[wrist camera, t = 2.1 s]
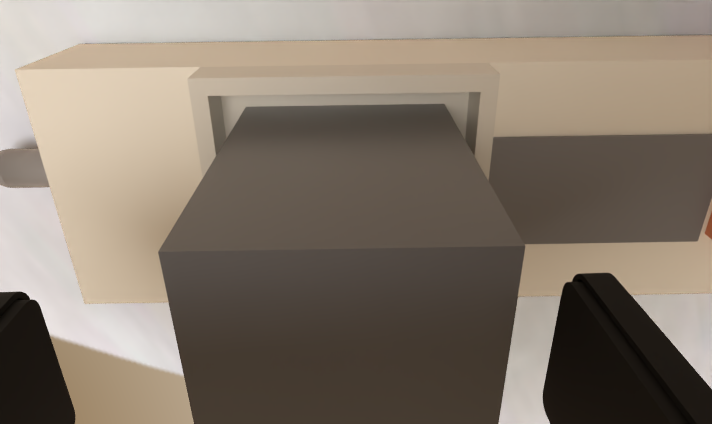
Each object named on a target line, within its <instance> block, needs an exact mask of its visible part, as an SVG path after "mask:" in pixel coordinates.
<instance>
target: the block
mask: <svg viewBox="0 0 712 424" xmlns="http://www.w3.org/2000/svg"><path fill="white" fill-rule="evenodd" d="M524 253H525V244H524V242H523V241H522V239H521V237H520V235H519V234H518V232H517V230H516V228H515V227H514V225H513V223H512V221H511V220H510V218H509V216H508V214H507V213H506V211H505V209H504V207H503V206H502V204H501V202H500V200H499V199H498V197H497V195H496V193H495V192H494V190H493V188H492V186H491V185H490V183H489V181H488V179H487V178H486V176H485V174H484V172H483V171H482V169H481V167H480V165H479V164H478V162H477V160H476V158H475V157H474V155H473V153H472V151H471V150H470V148H469V146H468V144H467V143H466V141H465V139H464V137H463V136H462V134H461V132H460V130H459V129H458V127H457V125H456V123H455V122H454V120H453V118H452V116H451V114H450V113H449V111H448V109H447V107H446V106H445V104H391V105H324V106H256V107H245V109H244V111H243V112H242V114H241V116H240V117H239V119H238V121H237V122H236V124H235V126H234V127H233V129H232V131H231V132H230V134H229V135H228V137H227V139H226V140H225V142H224V144H223V145H222V147H221V149H220V150H219V152H218V154H217V155H216V157H215V159H214V160H213V162H212V164H211V165H210V167H209V169H208V170H207V172H206V173H205V175H204V177H203V178H202V180H201V182H200V183H199V185H198V187H197V188H196V190H195V192H194V193H193V195H192V197H191V198H190V200H189V202H188V203H187V205H186V207H185V208H184V210H183V211H182V213H181V215H180V216H179V218H178V220H177V221H176V223H175V225H174V226H173V228H172V230H171V231H170V233H169V235H168V236H167V238H166V240H165V241H164V243H163V245H162V246H161V248H160V249H159V251H158V254H159V259H160V264H161V268H162V273H163V278H164V283H165V287H166V292H167V297H168V302H169V306H170V311H171V316H172V321H173V325H174V330H175V335H176V340H177V344H178V349H179V354H180V359H181V363H182V368H183V373H184V378H185V382H186V387H187V392H188V397H189V401H190V406H191V411H192V416H193V420H194V424H498V422H499V415H500V409H501V402H502V396H503V389H504V383H505V376H506V370H507V363H508V357H509V350H510V344H511V337H512V331H513V324H514V318H515V311H516V305H517V298H518V292H519V285H520V279H521V272H522V266H523V259H524Z"/></svg>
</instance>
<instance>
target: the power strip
mask: <svg viewBox="0 0 712 424" xmlns="http://www.w3.org/2000/svg"><path fill="white" fill-rule="evenodd" d="M15 72H16V75H17V79H18V82H19V85H20V89H21V92H22V95H23V99H24V102H25V105H26V109H27V112H28V115H29V119H30V122H31V126H32V129H33V132H34V136H35V139H36V142H37V146H38V149H6V150H2V151H0V185H2V186H5V187H10V188H31V187H50V189H51V193H52V196H53V199H54V203H55V206H56V209H57V213H58V216H59V219H60V223H61V226H62V229H63V233H64V236H65V239H66V243H67V246H68V249H69V253H70V256H71V260H72V263H73V266H74V270H75V273H76V276H77V280H78V283H79V286H80V290H81V293H82V296H83V300H84V303H85V304H100V303H160V302H168V297H167V292H166V287H165V283H164V278H163V273H162V268H161V264H160V259H159V254H158V251H159V249H160V248H161V246H162V245H163V243H164V241H165V240H166V238H167V236H168V235H169V233H170V231H171V230H172V228H173V226H174V225H175V223H176V221H177V220H178V218H179V216H180V215H181V213H182V211H183V210H184V208H185V207H186V205H187V203H188V202H189V200H190V198H191V197H192V195H193V193H194V192H195V190H196V188H197V187H198V185H199V183H200V182H201V180H202V178H203V177H204V175H205V173H206V172H207V170H208V169H209V167H210V165H211V164H212V162H213V160H214V159H215V157H216V155H217V154H218V152H219V150H220V149H221V147H222V145H223V144H224V142H225V140H226V139H227V137H228V135H229V134H230V132H231V131H232V129H233V127H234V126H235V124H236V122H237V121H238V119H239V117H240V116H241V114H242V112H243V111H244V109H245V107H256V106H324V105H391V104H445V106H446V107H447V109H448V111H449V113H450V114H451V116H452V118H453V120H454V122H455V123H456V125H457V127H458V129H459V130H460V132H461V134H462V136H463V137H464V139H465V141H466V143H467V144H468V146H469V148H470V150H471V151H472V153H473V155H474V157H475V158H476V160H477V162H478V164H479V165H480V167H481V169H482V171H483V172H484V174H485V176H486V178H487V179H488V181H489V183H490V185H491V186H492V188H493V190H494V192H495V193H496V195H497V197H498V199H499V200H500V202H501V204H502V206H503V207H504V209H505V211H506V213H507V214H508V216H509V218H510V220H511V221H512V223H513V225H514V227H515V228H516V230H517V232H518V234H519V235H520V237H521V239H522V241H523V242H524V244H525V253H524V259H523V266H522V272H521V279H520V285H519V292H518V297H519V296H561V295H562V290H563V286H564V284H565V283H566V282H572V280H573V278H574V276H575V275H576V274H580V273H611V274H612V275H614V276H615V277H616V279H617V280H618V281H619V282H620V283H621V284H622V286H623V287H624V288H625V289H626V290H627V291H628V293H629V294H630V295H639V294H699V293H712V35H677V36H607V37H537V38H467V39H397V40H326V41H256V42H186V43H116V44H78V45H76V46H73V47H71V48H68V49H65V50H63V51H60V52H58V53H55V54H53V55H50V56H48V57H45V58H43V59H40V60H38V61H35V62H33V63H30V64H28V65H25V66H23V67H20V68H18V69H15Z"/></svg>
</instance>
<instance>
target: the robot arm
mask: <svg viewBox="0 0 712 424" xmlns="http://www.w3.org/2000/svg"><path fill="white" fill-rule="evenodd" d="M543 405H544V409H545V412H546V415H547V417H548V419H549V421H550V424H712V389H711V388H710V387H709V386H708V385H707V383H706V382H705V381H704V380H703V379H702V378H701V376H700V375H699V374H698V373H697V372H696V371H695V369H694V368H693V367H692V366H691V365H690V364H689V362H688V361H687V360H686V359H685V358H684V357H683V355H682V354H681V353H680V352H679V351H678V350H677V348H676V347H675V346H674V345H673V344H672V343H671V341H670V340H669V339H668V338H667V337H666V336H665V334H664V333H663V332H662V331H661V330H660V329H659V327H658V326H657V325H656V324H655V323H654V322H653V320H652V319H651V318H650V317H649V316H648V315H647V314H646V312H645V311H644V310H643V309H642V308H641V307H640V305H639V304H638V303H637V302H636V301H635V300H634V298H633V297H632V296H631V295H630V294H629V293H628V291H627V290H626V289H625V288H624V287H623V286H622V284H621V283H620V282H619V281H618V280H617V279H616V277H615V276H614V275H612V274H611V273H580V274H576V275H575V276H574V278H573V280H572V282H566V283H565V284H564V286H563V290H562V295H561V300H560V305H559V311H558V316H557V321H556V326H555V332H554V337H553V342H552V347H551V353H550V358H549V363H548V369H547V374H546V379H545V384H544V390H543ZM0 424H75V411H74V407H73V404H72V401H71V398H70V395H69V392H68V389H67V386H66V383H65V381H64V377H63V375H62V371H61V368H60V366H59V363H58V359H57V356H56V353H55V350H54V347H53V344H52V341H51V338H50V335H49V332H48V329H47V326H46V323H45V320H44V317H43V314H42V311H41V308H40V306H39V304H38V302H37V301H35V300H30V298H29V296H28V295H27V294H26V293H23V292H0Z"/></svg>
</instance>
